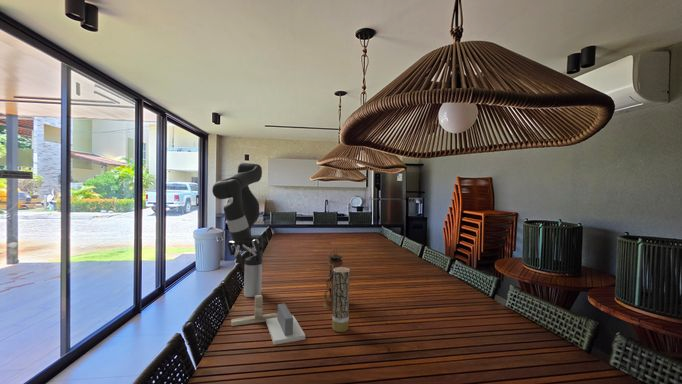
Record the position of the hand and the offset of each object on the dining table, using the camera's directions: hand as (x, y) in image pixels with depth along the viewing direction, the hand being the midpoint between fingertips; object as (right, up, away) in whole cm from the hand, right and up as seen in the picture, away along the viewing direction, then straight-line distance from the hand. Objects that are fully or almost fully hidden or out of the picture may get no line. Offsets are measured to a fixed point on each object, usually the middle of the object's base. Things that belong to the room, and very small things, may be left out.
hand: (249, 262), depth 118 cm
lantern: (+36, -28, +25) cm, 52 cm away
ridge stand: (+15, -27, -3) cm, 31 cm away
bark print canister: (+38, -28, -1) cm, 47 cm away
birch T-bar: (+2, -27, +5) cm, 28 cm away
